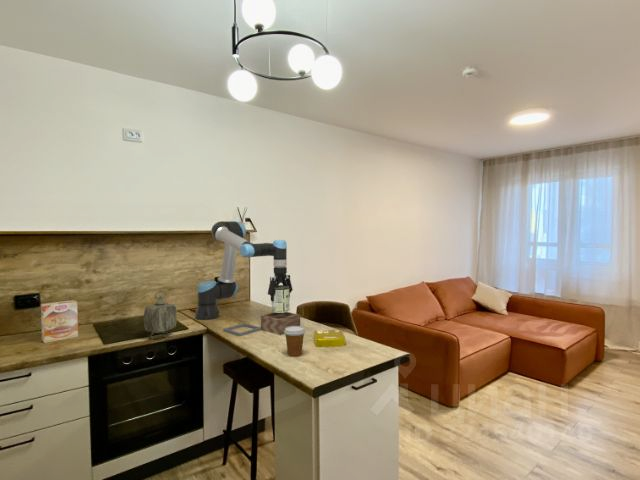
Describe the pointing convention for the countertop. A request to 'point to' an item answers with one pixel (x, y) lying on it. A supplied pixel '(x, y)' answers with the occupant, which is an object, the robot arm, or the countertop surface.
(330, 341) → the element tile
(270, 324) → the block
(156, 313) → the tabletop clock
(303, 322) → the countertop surface
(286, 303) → the coffee can
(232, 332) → the gray square frame
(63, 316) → the coffeecake box
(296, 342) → the disposable coffee cup
